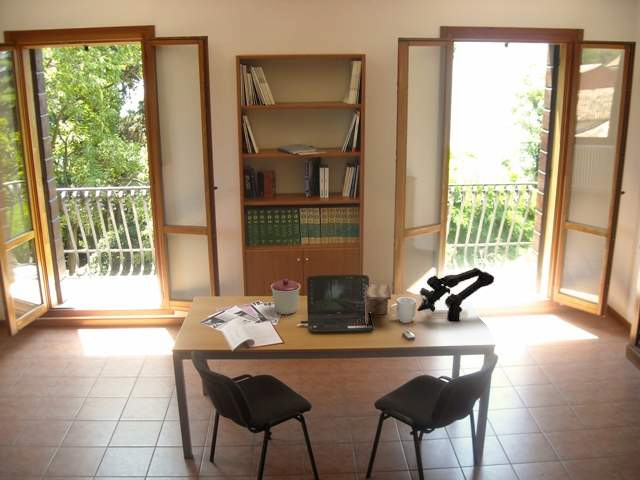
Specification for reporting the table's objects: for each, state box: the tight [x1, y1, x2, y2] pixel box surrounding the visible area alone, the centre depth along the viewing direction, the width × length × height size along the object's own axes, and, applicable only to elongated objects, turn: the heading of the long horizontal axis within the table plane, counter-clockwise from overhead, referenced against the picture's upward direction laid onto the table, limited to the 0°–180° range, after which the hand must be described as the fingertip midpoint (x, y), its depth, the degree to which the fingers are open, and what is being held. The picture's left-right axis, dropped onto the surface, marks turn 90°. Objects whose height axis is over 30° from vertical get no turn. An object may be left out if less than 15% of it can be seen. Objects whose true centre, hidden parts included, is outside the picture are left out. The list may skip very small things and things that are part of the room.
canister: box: [270, 278, 301, 315], centre depth 370 cm, size 18×18×21 cm
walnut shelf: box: [364, 283, 392, 325], centre depth 359 cm, size 14×20×18 cm
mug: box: [389, 296, 417, 324], centre depth 359 cm, size 15×11×13 cm
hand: (417, 310), depth 358 cm, fingers closed
